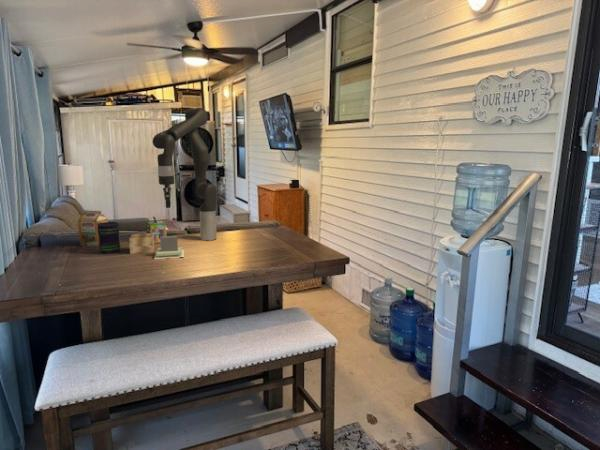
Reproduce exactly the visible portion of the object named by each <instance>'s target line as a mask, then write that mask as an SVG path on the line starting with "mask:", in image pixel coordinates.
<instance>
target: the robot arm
mask: <svg viewBox="0 0 600 450" xmlns="http://www.w3.org/2000/svg"><path fill="white" fill-rule="evenodd" d="M184 118H185V119H184V120H183V121H179V122H177V123H175V124H174V125H172V126H171V127H169V128H168V129H166V130H163V131H160V132H158V133H157V134H155V135H154V137H153V138H152V145H153V147H155V148H156V149H160V150H163V153H159V154H158V155H157V175H158V184H159V185H161V186H164V187H162V190H163V191H162V192H163V197H164V201H165V208H167V209H170V208H171V205H172V203H171V202H172V201H171V197H172V187H171V185H174V184H175V173H174V172H175V170H174V166H173V165H174V164H173V163H174V162H173V155H174V150H175V145H176V143H175V142H178V141H179V140H180V139H181V138H183V137H184V136H185V135H187V134H188V136H189V142H190V149H191V155H192V156H191V157H192V163H193V170H194V177H195V178H194V179H195V192H196V195H197V197H198V198H199V199H203V204H201V205H200V206H199V228H200V229H199V231H200V236H199V237H200V240H201V241H206V240H209V241H215V240H214V239H217V238H218V237H217V236H218V235H217V214H216V213H217V212H216V211H217V209H216V207H217V204H218V190H217V187H216V185H215V184H213V183H208V182H207V175H206V174H207V170H208V168H209V164H210V155H209V148H208V146H207V145H206V142H204V141H203V139H202V138H201V136H200V133H199V129H198V128H199V127H201V126H204V125H206V124H207V122H208V113H207V111H206V110H205V109H204V108H201V107H199V108H189V109H186V111H185V113H184Z"/></svg>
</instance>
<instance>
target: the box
mask: <svg viewBox="0 0 600 450" xmlns="http://www.w3.org/2000/svg"><path fill="white" fill-rule="evenodd" d="M128 242H129V254H130V255H138V254H154V250H155V243H154V233H152V234H147V233H135V234H134V233H132V234H131V235H130V237H129V238H128Z"/></svg>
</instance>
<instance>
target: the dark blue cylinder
mask: <svg viewBox="0 0 600 450" xmlns="http://www.w3.org/2000/svg"><path fill="white" fill-rule="evenodd" d="M119 234H120V228H119V222H117V221H108V222H104V223H99V224H98V235H99V247H98V248H99V254H100V255H113V254H118V253H120V252H121V242H120V238H119V237H120V236H119Z"/></svg>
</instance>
